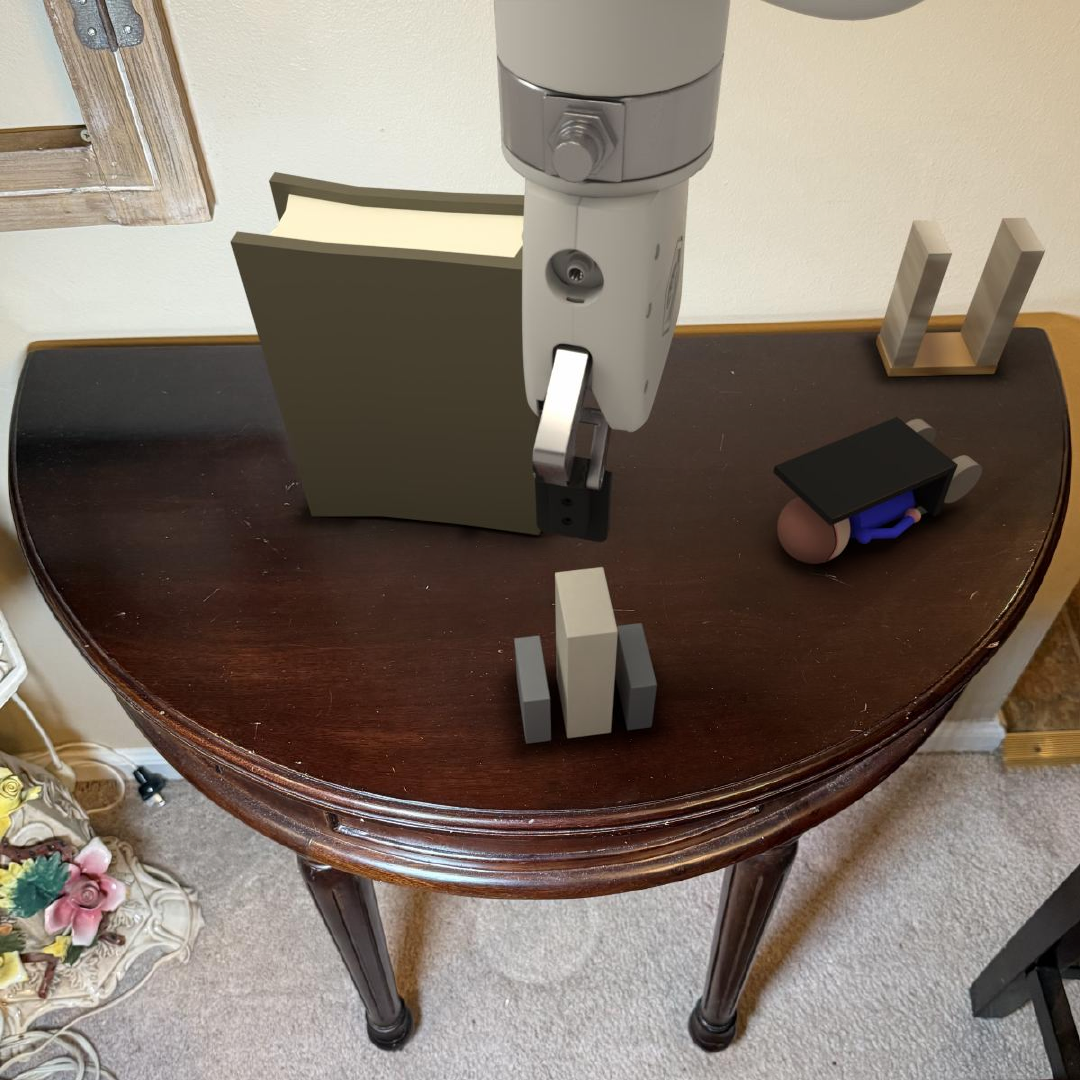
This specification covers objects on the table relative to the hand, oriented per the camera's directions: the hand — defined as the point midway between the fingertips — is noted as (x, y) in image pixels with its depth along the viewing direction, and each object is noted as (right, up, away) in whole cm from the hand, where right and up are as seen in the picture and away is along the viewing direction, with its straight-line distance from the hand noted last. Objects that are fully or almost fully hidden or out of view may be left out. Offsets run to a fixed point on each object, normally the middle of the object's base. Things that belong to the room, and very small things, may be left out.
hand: (597, 457), depth 47 cm
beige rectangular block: (0, -14, +16) cm, 22 cm away
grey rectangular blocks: (0, -14, +16) cm, 22 cm away
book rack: (+31, +12, +38) cm, 50 cm away
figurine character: (+21, -3, +26) cm, 33 cm away
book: (-10, 0, +29) cm, 31 cm away
